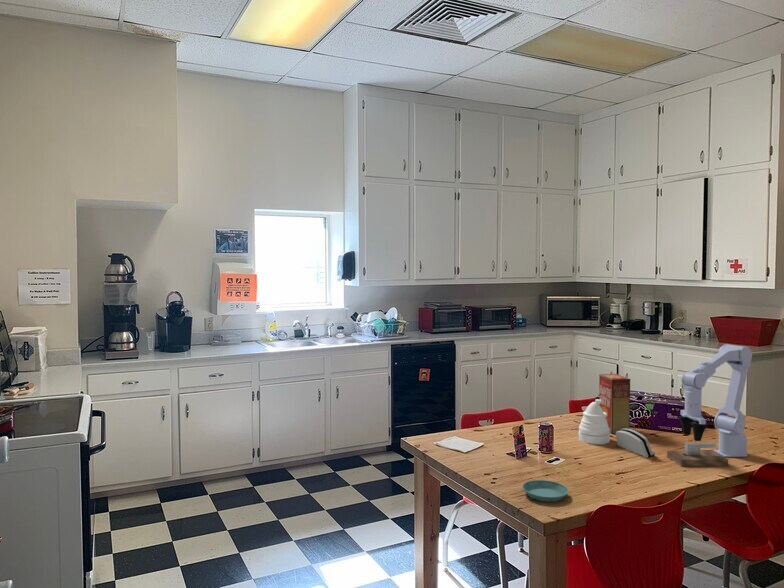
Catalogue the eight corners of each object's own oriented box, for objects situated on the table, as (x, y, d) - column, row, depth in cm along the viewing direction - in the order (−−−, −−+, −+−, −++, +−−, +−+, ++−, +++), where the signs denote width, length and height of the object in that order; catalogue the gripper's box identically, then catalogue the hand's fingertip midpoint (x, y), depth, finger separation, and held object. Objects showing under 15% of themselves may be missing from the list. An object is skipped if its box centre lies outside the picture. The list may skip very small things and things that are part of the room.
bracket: (712, 460, 229) (712, 442, 229) (715, 461, 227) (715, 444, 227) (684, 460, 229) (685, 442, 228) (687, 462, 227) (687, 444, 226)
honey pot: (615, 441, 254) (616, 399, 253) (597, 446, 247) (597, 404, 246) (590, 433, 265) (591, 394, 264) (572, 438, 258) (572, 398, 257)
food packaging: (597, 426, 277) (598, 373, 276) (616, 425, 278) (617, 373, 277) (611, 434, 264) (612, 379, 263) (631, 433, 265) (632, 378, 264)
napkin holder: (656, 456, 233) (650, 434, 232) (647, 461, 232) (640, 439, 231) (627, 444, 249) (621, 423, 248) (618, 449, 248) (612, 428, 246)
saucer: (542, 508, 185) (542, 499, 185) (513, 491, 198) (513, 484, 198) (577, 499, 192) (577, 492, 191) (547, 484, 205) (547, 477, 205)
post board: (711, 456, 234) (711, 450, 233) (728, 465, 223) (728, 459, 222) (666, 456, 233) (667, 450, 233) (681, 466, 222) (681, 459, 222)
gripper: (673, 398, 234) (672, 432, 234) (692, 407, 219) (692, 443, 220) (690, 398, 234) (690, 432, 235) (711, 407, 219) (710, 443, 220)
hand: (692, 437), depth 227 cm, fingers open, 7 cm apart
